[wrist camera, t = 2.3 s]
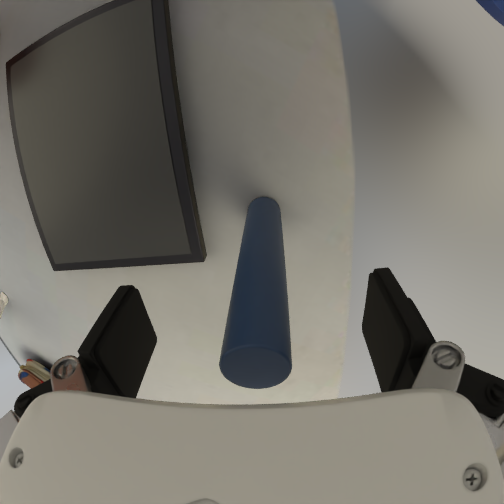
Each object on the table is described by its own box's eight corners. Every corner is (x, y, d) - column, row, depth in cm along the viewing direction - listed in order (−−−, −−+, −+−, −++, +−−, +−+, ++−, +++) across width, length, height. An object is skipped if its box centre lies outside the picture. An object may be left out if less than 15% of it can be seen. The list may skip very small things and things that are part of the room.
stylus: (245, 197, 19) (212, 346, 8) (279, 195, 19) (291, 344, 8) (249, 227, 20) (225, 389, 9) (281, 225, 20) (292, 388, 9)
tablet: (13, 62, 14) (4, 62, 13) (167, -13, 12) (161, -18, 11) (59, 265, 23) (53, 271, 22) (207, 255, 22) (204, 262, 21)
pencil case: (119, 428, 39) (111, 451, 35) (25, 362, 33) (11, 383, 29) (147, 415, 35) (138, 443, 31) (33, 336, 29) (15, 361, 25)
